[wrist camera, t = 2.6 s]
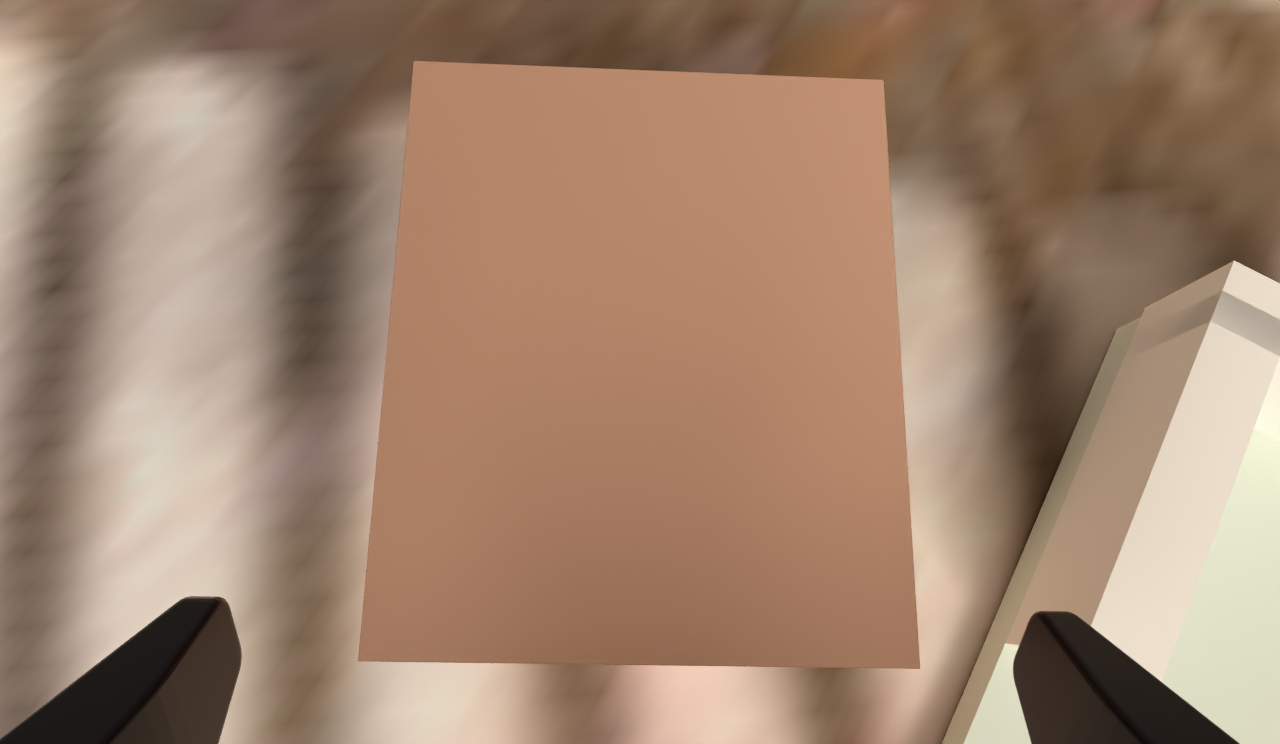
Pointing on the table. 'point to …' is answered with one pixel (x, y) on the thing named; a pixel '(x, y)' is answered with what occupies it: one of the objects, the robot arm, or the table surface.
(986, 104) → the table surface
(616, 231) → the tall peach block
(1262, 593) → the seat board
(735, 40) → the table surface
